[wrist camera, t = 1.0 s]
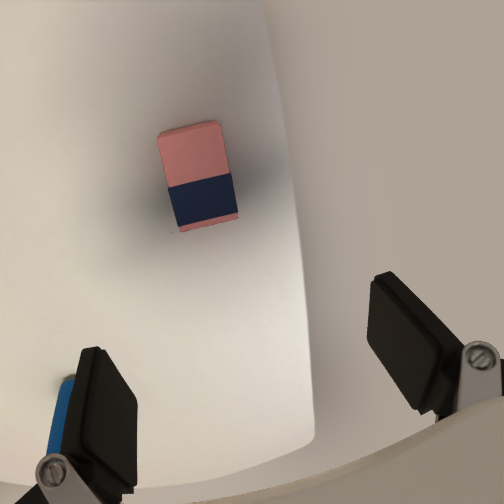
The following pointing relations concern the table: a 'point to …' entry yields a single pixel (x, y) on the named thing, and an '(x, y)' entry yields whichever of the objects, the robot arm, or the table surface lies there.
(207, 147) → the eraser
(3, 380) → the table surface
